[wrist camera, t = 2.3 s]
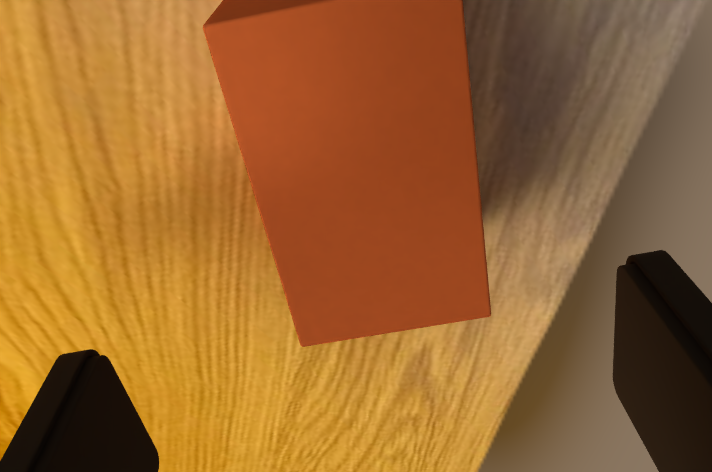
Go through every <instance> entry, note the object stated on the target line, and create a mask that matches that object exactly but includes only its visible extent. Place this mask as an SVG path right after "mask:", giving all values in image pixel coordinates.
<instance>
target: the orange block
mask: <svg viewBox="0 0 712 472" xmlns="http://www.w3.org/2000/svg"><path fill="white" fill-rule="evenodd" d="M203 30H204V33H205V36H206V40H207V43H208V46H209V49H210V53H211V56H212V59H213V62H214V66H215V69H216V72H217V75H218V79H219V82H220V85H221V88H222V92H223V95H224V98H225V101H226V104H227V108H228V111H229V114H230V117H231V121H232V124H233V127H234V130H235V134H236V137H237V140H238V143H239V147H240V150H241V153H242V156H243V160H244V163H245V166H246V169H247V173H248V176H249V179H250V182H251V186H252V189H253V192H254V195H255V199H256V202H257V205H258V208H259V212H260V215H261V218H262V221H263V225H264V228H265V231H266V234H267V238H268V241H269V244H270V247H271V250H272V254H273V257H274V260H275V263H276V267H277V270H278V273H279V276H280V280H281V283H282V286H283V289H284V293H285V296H286V299H287V302H288V306H289V309H290V312H291V315H292V319H293V322H294V325H295V328H296V332H297V335H298V338H299V341H300V345H301V346H302V347H305V346H311V345H317V344H323V343H329V342H335V341H342V340H348V339H354V338H360V337H366V336H373V335H379V334H385V333H391V332H397V331H404V330H410V329H416V328H422V327H428V326H435V325H441V324H447V323H453V322H459V321H465V320H472V319H478V318H484V317H489V316H491V306H490V295H489V284H488V273H487V262H486V251H485V240H484V229H483V218H482V207H481V196H480V185H479V174H478V163H477V152H476V142H475V131H474V120H473V109H472V98H471V87H470V76H469V65H468V54H467V43H466V32H465V21H464V10H463V0H223V1H222V3H221V4H220V5H219V6H218V8H217V9H216V10H215V11H214V13H213V14H212V15H211V16H210V18H209V19H208V20H207V21H206V23H205V24H204V25H203Z"/></svg>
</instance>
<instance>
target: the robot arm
mask: <svg viewBox="0 0 712 472" xmlns="http://www.w3.org/2000/svg"><path fill="white" fill-rule="evenodd" d="M613 382H614V386H615V390H616V393H617V395H618V397H619V399H620V401H621V403H622V405H623V407H624V408H625V410H626V412H627V414H628V416H629V417H630V419H631V421H632V423H633V425H634V427H635V429H636V430H637V432H638V434H639V436H640V438H641V440H642V441H643V443H644V445H645V447H646V449H647V451H648V452H649V454H650V456H651V458H652V460H653V462H654V463H655V465H656V467H657V469H658V471H659V472H712V303H711V302H710V301H709V299H708V298H707V297H706V296H705V295H704V294H703V293H702V291H701V290H700V289H699V288H698V287H697V286H696V285H695V283H694V282H693V281H692V280H691V279H690V278H689V277H688V276H687V274H686V273H684V271H683V270H682V269H681V268H680V266H679V265H678V264H677V263H676V262H675V261H674V260H673V258H672V257H671V256H670V255H669V254H668V253H667V252H666V251H663V250H659V251H654V252H648V253H642V254H636V255H631V256H629V257H628V259H627V261H626V265H622V266H619V267H618V269H617V281H616V306H615V333H614V359H613ZM158 469H159V456H158V452H157V449H156V447H155V446H154V444H153V442H152V440H151V438H150V436H149V434H148V432H147V430H146V428H145V426H144V425H143V423H142V421H141V419H140V417H139V415H138V413H137V411H136V409H135V407H134V406H133V404H132V402H131V400H130V398H129V396H128V394H127V392H126V390H125V388H124V387H123V385H122V383H121V381H120V379H119V377H118V375H117V373H116V371H115V369H114V367H113V366H112V364H111V362H110V360H109V359H108V357H106V356H105V355H101V356H100V355H99V353H98V352H97V351H95V350H91V349H90V350H84V351H78V352H73V353H67V354H62V355H60V356H59V357H58V358H57V360H56V361H55V363H54V365H53V367H52V368H51V370H50V372H49V374H48V376H47V377H46V379H45V381H44V383H43V385H42V386H41V388H40V390H39V392H38V394H37V396H36V397H35V399H34V401H33V403H32V405H31V406H30V408H29V410H28V412H27V414H26V415H25V417H24V419H23V421H22V423H21V424H20V426H19V428H18V430H17V432H16V434H15V435H14V437H13V439H12V441H11V443H10V444H9V446H8V448H7V450H6V452H5V453H4V455H3V457H2V459H1V461H0V472H158Z"/></svg>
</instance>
